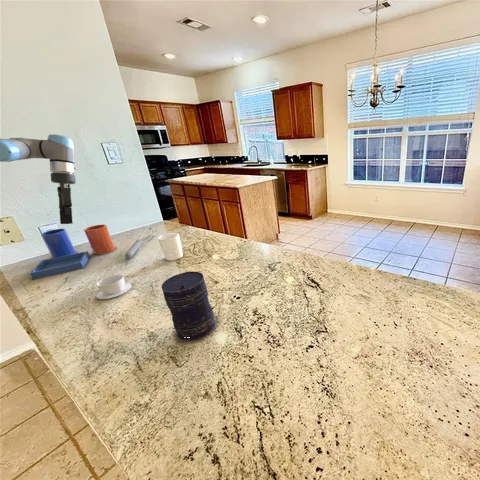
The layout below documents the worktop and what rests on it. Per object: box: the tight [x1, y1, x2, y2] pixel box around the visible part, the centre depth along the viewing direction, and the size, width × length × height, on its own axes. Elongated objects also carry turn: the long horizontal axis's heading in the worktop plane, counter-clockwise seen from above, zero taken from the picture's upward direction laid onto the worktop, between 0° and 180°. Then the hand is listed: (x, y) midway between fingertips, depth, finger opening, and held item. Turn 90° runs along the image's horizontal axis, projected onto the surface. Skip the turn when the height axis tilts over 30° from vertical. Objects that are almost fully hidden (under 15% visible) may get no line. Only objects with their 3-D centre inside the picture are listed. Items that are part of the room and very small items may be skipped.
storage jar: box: [160, 271, 216, 342], centre depth 68 cm, size 10×10×18 cm
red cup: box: [83, 223, 116, 256], centre depth 122 cm, size 8×8×12 cm
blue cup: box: [40, 228, 77, 258], centre depth 119 cm, size 8×8×12 cm
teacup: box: [95, 274, 132, 300], centre depth 90 cm, size 10×10×5 cm
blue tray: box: [29, 250, 90, 280], centre depth 111 cm, size 16×14×3 cm
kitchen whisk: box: [123, 224, 157, 260], centre depth 127 cm, size 6×34×6 cm, turn 14°
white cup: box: [157, 232, 184, 261], centre depth 113 cm, size 8×8×10 cm
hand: (66, 223), depth 113 cm, fingers open, 13 cm apart
